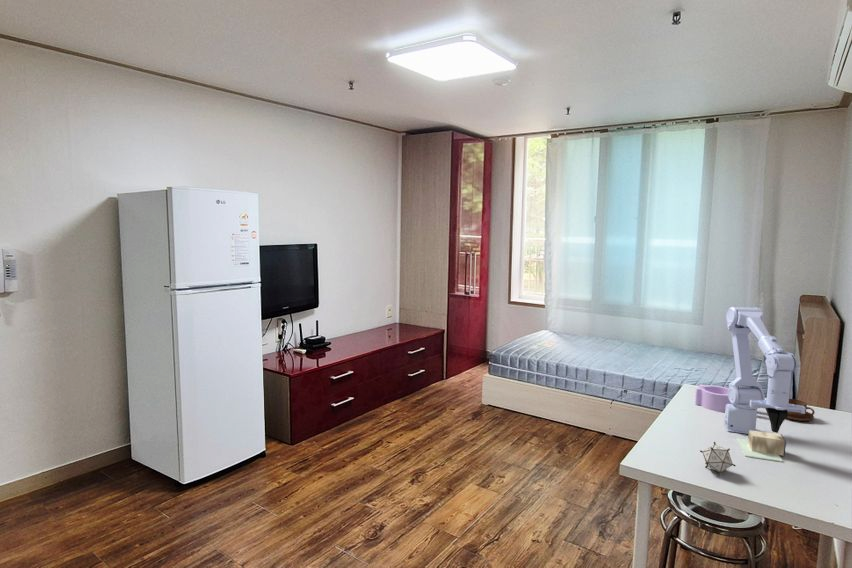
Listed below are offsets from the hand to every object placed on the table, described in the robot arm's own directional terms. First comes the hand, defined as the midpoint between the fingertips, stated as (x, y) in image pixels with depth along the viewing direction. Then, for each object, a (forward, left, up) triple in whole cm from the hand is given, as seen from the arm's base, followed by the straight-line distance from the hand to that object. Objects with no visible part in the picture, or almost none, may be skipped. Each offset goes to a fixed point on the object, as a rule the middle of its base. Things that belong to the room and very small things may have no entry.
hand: (774, 431), depth 160 cm
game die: (-19, -21, -7) cm, 29 cm away
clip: (-7, +40, -7) cm, 41 cm away
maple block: (+3, 0, -4) cm, 5 cm away
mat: (-4, 0, -7) cm, 8 cm away
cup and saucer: (+16, +39, -7) cm, 42 cm away
